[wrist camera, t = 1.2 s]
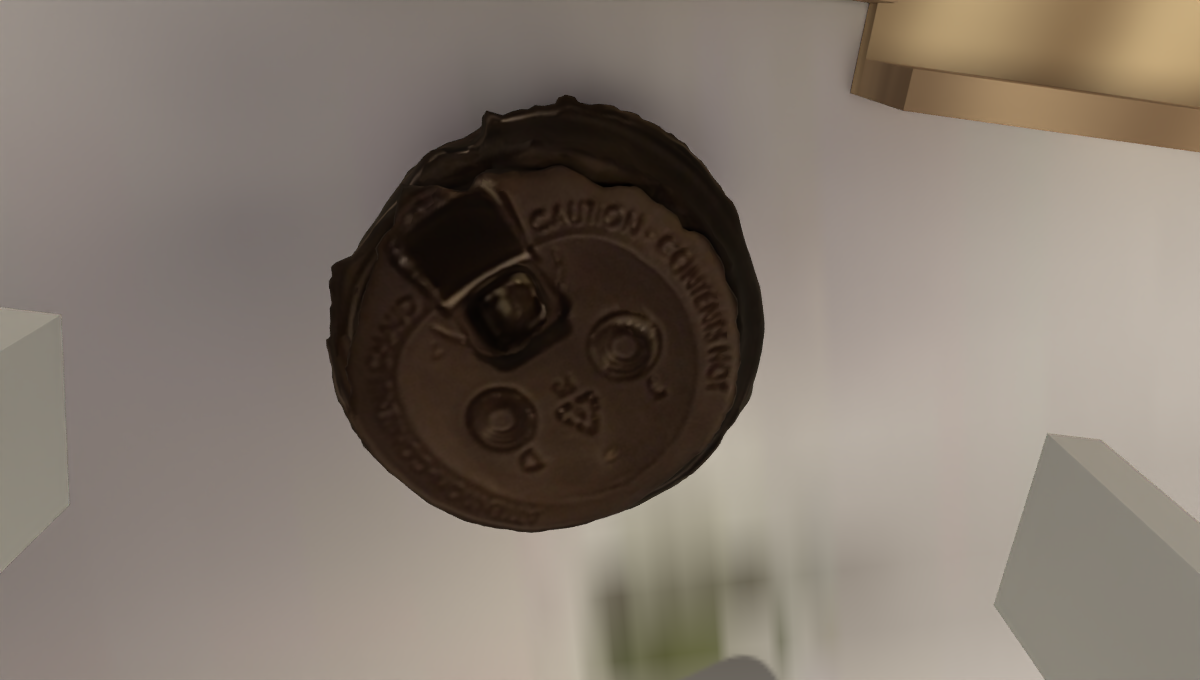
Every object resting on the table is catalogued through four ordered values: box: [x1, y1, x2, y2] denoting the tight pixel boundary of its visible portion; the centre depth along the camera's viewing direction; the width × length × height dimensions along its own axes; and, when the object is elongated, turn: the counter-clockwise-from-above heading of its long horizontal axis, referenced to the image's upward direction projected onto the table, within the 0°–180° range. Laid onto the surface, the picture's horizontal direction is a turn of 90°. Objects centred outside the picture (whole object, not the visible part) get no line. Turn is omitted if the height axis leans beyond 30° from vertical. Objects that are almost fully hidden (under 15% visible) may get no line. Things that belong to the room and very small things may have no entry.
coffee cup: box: [326, 95, 764, 533], centre depth 23 cm, size 9×8×13 cm
